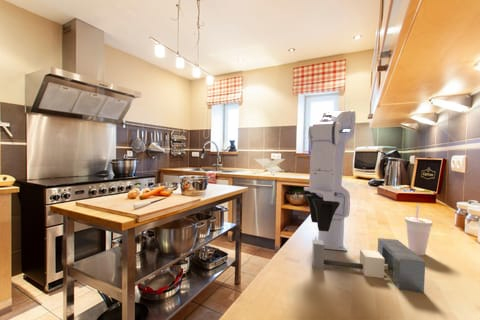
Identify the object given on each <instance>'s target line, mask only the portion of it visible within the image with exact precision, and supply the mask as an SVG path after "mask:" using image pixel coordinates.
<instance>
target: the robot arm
mask: <svg viewBox="0 0 480 320" xmlns="http://www.w3.org/2000/svg"><path fill="white" fill-rule="evenodd" d="M356 118H357V117H356V111H355V110H354V109H352V110H342V111H324V113H323V114H322V119H320V120H319V122H313V123H312V124H310V125H309V127H308V133H307V135H308V136H307V137H308V151H309V152H310V156H309V157H310V158H309V159H310V160H309V161H310V162H309V179H308V180H309V183H308V186H307V187H306V186H305V187H303V191H305V192H306V191H307V192H309V193H311V194H305V198H306V200H307V205H308V207H309V213H310V219H311V223H316V224H317V229H318V232H317V233H318V235H315V237H314V238H315V240H322V241H323V243H324V250H326V249H327V250H332V251H334V250H335V251H336V250H337V251H345V252H346V251H348V248H347V247H346V244H345V243H344V235H345V232H344V231H345V218H348V217H349V216H350V212H351V211H350V210H351V194H350V191H348V189H346V188H345V187H344V186H342V182H343V172H344V165H345V154H346V146H347V144H348V141H349V140H351V139H353V138H354V135H355V127H356Z"/></svg>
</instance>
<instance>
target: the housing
mask: <svg viewBox="0 0 480 320" xmlns="http://www.w3.org/2000/svg"><path fill="white" fill-rule="evenodd" d="M377 251H378V252H379V253H380V254H381V255H382V256H383V258H384V259H385V263H384V264H387V265H388V270H393V271H392V283H394V285H395V286H396V287H397V289H399V290H402V291H410V292H417V293H418V292H419V293H425V277H426V276H425V275H426V260H424V259H423V258H422V257H421V256H420V255H417V254H415V253H414V252H413V251H411V250H410V249H409V246H406V245H405V244H404V243H403V242H401V241H400V240H399V239H395V238H393V239H392V238H383V237H378V238H377Z"/></svg>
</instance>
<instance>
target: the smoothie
mask: <svg viewBox="0 0 480 320" xmlns="http://www.w3.org/2000/svg"><path fill="white" fill-rule="evenodd" d="M419 205H420V204H416V205H415V217H414V216H406V217H404V222H405V225H406V235H407V244H408V246H407V247H408V248H409V249H410V250H411V251H413V252H414V253H415V254H417V255H418V256H425V255H426V253H427V252H426V251H427V247H428V243H429V238H430V234H431V228H432V227H433V221H432V220H429V219H425V218H423V217H422V218H421V217H419Z"/></svg>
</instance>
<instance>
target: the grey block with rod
mask: <svg viewBox="0 0 480 320" xmlns="http://www.w3.org/2000/svg"><path fill="white" fill-rule="evenodd" d="M311 252H312V253H311V254H312V256H311V257H312V258H311V264H312V269H318V270H324V269H325V267H324V266H325V265H326V266H334V267H342V268H347V269H348V268H350V269H351V268H352V269H358V270H360V271H361V272H362V274H363V276H364V277H372V278H377V279H384V278H385V270H386V271H387V270H389V269H388V265H387V264H384V263H385V259H384V258H383V256H382V255H381V254H380V253H379V252H378V250H377V251H376V250H367V249H359V263H357V262H351V261H350V262H349V261H341V260H334V259H333V260H332V259H326V258H325V249H324V243H323V241H322V240H316V239H312V250H311Z"/></svg>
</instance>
